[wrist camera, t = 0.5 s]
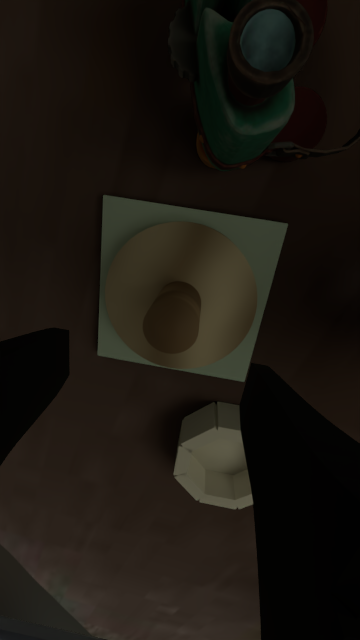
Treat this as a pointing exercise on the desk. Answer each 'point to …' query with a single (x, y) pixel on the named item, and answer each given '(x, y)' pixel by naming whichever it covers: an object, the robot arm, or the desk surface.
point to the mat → (246, 233)
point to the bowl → (213, 457)
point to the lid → (181, 295)
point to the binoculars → (250, 78)
